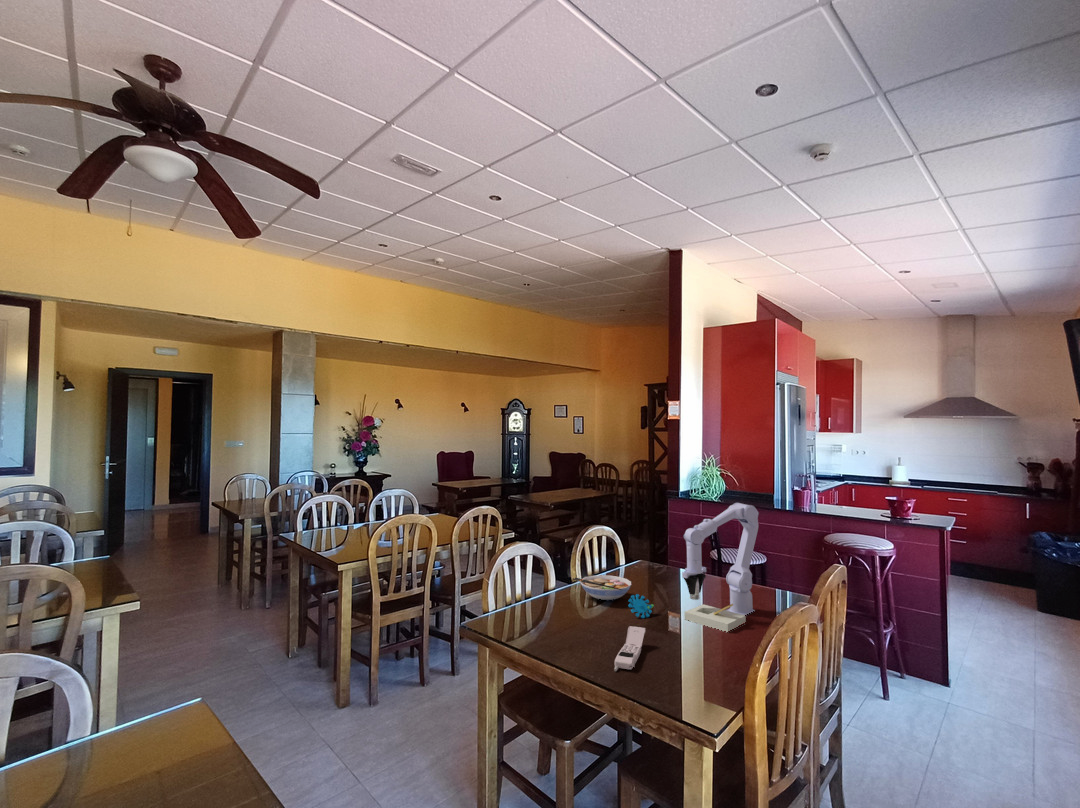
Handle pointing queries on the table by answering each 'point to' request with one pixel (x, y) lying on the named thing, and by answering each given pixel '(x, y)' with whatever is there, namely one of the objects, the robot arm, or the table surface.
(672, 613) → the table surface
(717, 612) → the latch
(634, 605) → the blue spiky blob
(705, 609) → the cream rectangular slab
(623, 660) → the mobile phone
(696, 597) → the peg
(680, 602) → the table surface
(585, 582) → the ramen bowl
